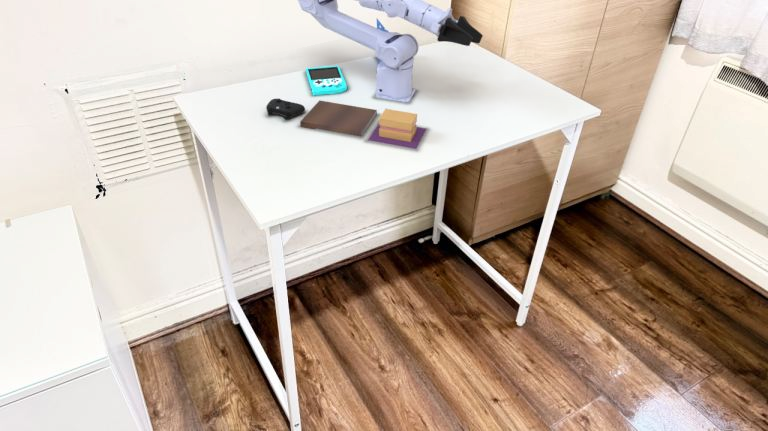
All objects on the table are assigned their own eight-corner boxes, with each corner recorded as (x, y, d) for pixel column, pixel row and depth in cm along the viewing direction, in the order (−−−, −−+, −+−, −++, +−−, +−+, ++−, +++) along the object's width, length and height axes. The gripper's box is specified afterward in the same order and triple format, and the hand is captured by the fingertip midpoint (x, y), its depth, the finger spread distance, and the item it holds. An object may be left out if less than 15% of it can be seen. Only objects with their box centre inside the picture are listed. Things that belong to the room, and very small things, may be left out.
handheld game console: (312, 95, 143) (312, 91, 143) (305, 71, 155) (305, 67, 155) (348, 92, 145) (348, 87, 144) (338, 69, 157) (338, 64, 156)
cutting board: (300, 126, 130) (300, 121, 129) (319, 105, 139) (319, 100, 138) (361, 137, 127) (361, 132, 126) (376, 115, 136) (376, 109, 135)
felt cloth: (367, 141, 125) (367, 140, 125) (380, 121, 133) (380, 120, 133) (416, 149, 123) (416, 148, 123) (426, 129, 130) (426, 128, 130)
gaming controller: (307, 107, 136) (297, 99, 130) (301, 126, 136) (290, 119, 130) (276, 99, 139) (264, 91, 133) (269, 118, 139) (258, 111, 133)
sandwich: (378, 136, 127) (379, 118, 123) (385, 126, 130) (385, 108, 127) (410, 142, 125) (411, 123, 122) (416, 132, 129) (417, 113, 125)
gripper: (421, 0, 119) (473, 25, 116) (444, 0, 131) (491, 22, 128) (410, 30, 123) (460, 55, 120) (433, 27, 135) (479, 50, 132)
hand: (475, 40), depth 124 cm, fingers open, 7 cm apart
